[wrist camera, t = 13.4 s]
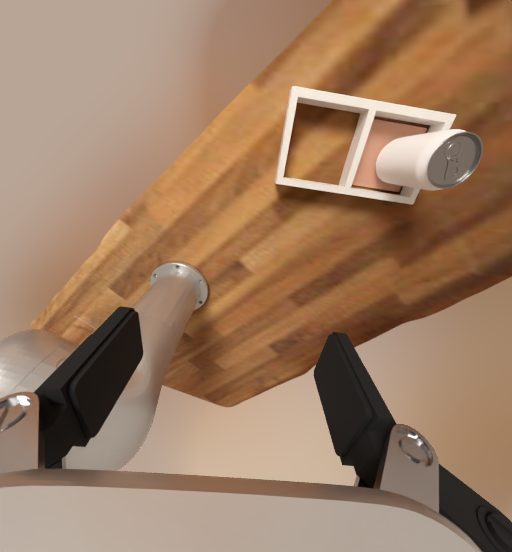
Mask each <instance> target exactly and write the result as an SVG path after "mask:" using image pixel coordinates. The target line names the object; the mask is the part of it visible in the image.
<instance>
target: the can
mask: <svg viewBox="0 0 512 552" xmlns="http://www.w3.org/2000/svg"><path fill="white" fill-rule="evenodd" d="M482 154H483V143H482V140H481V139H480V137H479V136H478V135H477V134H475V133H472V132H466V131H464V130H460V129H451V130H444V131H437V132H431V133H425V134H419V135H413V136H407V137H401V138H398V139H395V140H393V141H391V142H390V143H388V144H387V145H386V146H385V147H384V148H383V149H382V150H381V152H380V154H379V155H378V158H377V161H376V173H377V176H378V177H379V179H380V180H382V181H383V182H386V183H390V184H395V185H401V186H406V187H412V188H418V189H424V190H440V189H445V188H451V187H454V186H456V185H458V184H460V183H462V182H463V181H465V180H466V179H467V178H468V177H469V176H470V175H471V174H472V173H473V172H474V171H475V169H476V168H477V166H478V165H479V163H480V160H481V158H482Z"/></svg>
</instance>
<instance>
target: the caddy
mask: <svg viewBox="0 0 512 552" xmlns="http://www.w3.org/2000/svg"><path fill="white" fill-rule="evenodd" d="M297 103H302V104H308V105H314V106H320V107H325V108H331V109H337V110H343V111H349V112H354V113H360V116H359V120H358V123H357V126H356V130H355V133H354V136H353V139H352V143H351V146H350V149H349V153H348V156H347V159H346V162H345V166H344V169H343V172H342V176H341V179H340V182H339V185H333V184H326V183H320V182H314V181H307V180H301V179H294V178H288V177H283V176H284V171H285V165H286V160H287V154H288V149H289V143H290V138H291V132H292V127H293V121H294V116H295V110H296V105H297ZM375 116H377V117H383V118H389V119H395V120H401V121H406V122H412V123H418V124H424V125H430V127H429V129H428V132H427V133H431V132H437V131H444V130H449V129H450V127H451V125H452V123H453V121H454V119H455V117H456V115H455V114H449V113H444V112H438V111H432V110H427V109H421V108H415V107H410V106H404V105H398V104H393V103H387V102H381V101H376V100H370V99H364V98H359V97H353V96H347V95H342V94H336V93H330V92H325V91H319V90H313V89H308V88H302V87H296V86H292V88H291V90H290V93H289V99H288V105H287V111H286V117H285V123H284V129H283V135H282V141H281V147H280V153H279V159H278V165H277V171H276V177H275V183H276V184H281V185H288V186H294V187H301V188H307V189H314V190H320V191H327V192H333V193H340V194H346V195H353V196H360V197H366V198H373V199H379V200H386V201H392V202H399V203H405V204H412V205H413V204H414V201H415V199H416V197H417V195H418V193H419V191H420V189H418V188H412V187H406V186H403V188H402V190H401V192H400V195H398V194H391V193H385V192H378V191H372V190H365V189H359V188H352V187H351V186H352V185H356V186H362V187H369V188H375V189H382V190H388V191H395V192H399V191H400V189H401V185H395V184H390V183H386V182H383V181H382V180H380V179H379V177H378V176H377V173H376V161H377V158H378V155H379V154H380V152H381V150H382V149H383V148H384V147H385V146H386V145H387V144H388V143H390V142H391V141H393V140H395V139H398V138H401V137H407V136H413V135H419V134H425V132H426V130H427V128H423V127H417V126H412V125H406V124H400V123H394V122H388V121H383V120H377V119H374V117H375Z"/></svg>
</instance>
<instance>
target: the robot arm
mask: <svg viewBox="0 0 512 552" xmlns="http://www.w3.org/2000/svg"><path fill="white" fill-rule="evenodd" d="M207 296H208V284H207V282H206V279H205V278H204V276H203V275H202V274H201V273H200V272H199V271H198V270H197V269H196V268H194V267H192V266H191V265H188V264H186V263H182V262H167V263H164V264H162V265H160V266H159V267H157V268H156V269H155V270H154V272H153V273H152V275H151V278H150V288H149V289H148V290H147V291H146V293H145V294H144V295H143V296H142V297H141V298H140V300H139V301H138V302H137V303H136V304H135V305H134V306H133V308H128V307H119V308H117V310H116V311H115V312H114V313H113V314H112V315H111V316H110V317H109V318H108V319H107V320H106V321H105V322H104V323H103V324H102V325H101V326H100V327H99V328H98V329H97V330H96V331H95V332H94V333H93V334H91V335H90V336H89V337H88V338H87V339H86V340H85V341H84V342H83V343H82V344H81V345H80V346H79V345H77V344H75V343H73V342H71V341H68V340H66V339H64V338H62V337H60V336H58V335H56V334H54V333H51V332H48V331H44V330H38V329H30V330H25V331H20V332H17V333H15V334H12V335H10V336H8V337H6V338H4V339H3V340H1V341H0V552H512V522H511V521H510V520H509V519H508V518H507V517H506V516H505V515H503V514H502V513H501V512H500V511H499V510H498V509H496V508H495V507H494V506H493V505H491V504H490V503H489V502H487V501H486V500H485V499H483V498H482V497H481V496H480V495H478V494H477V493H476V492H475V491H473V490H472V489H471V488H469V487H468V486H467V485H466V484H464V483H463V482H462V481H460V480H459V479H458V478H457V477H455V476H454V475H453V474H451V473H450V472H449V471H448V470H446V469H445V468H443V467H442V466H441V465H440V464H439V462H438V457H437V455H436V453H435V451H434V449H433V447H432V446H431V445H430V443H429V442H428V441H427V440H426V439H425V438H424V436H423V435H421V434H420V433H419V432H418V431H416V430H415V429H413V428H411V427H410V426H407V425H404V424H396V423H395V421H394V419H393V417H392V415H391V413H390V411H389V410H388V408H387V406H386V404H385V402H384V401H383V399H382V397H381V395H380V393H379V391H378V390H377V388H376V386H375V384H374V383H373V381H372V379H371V377H370V375H369V373H368V372H367V370H366V368H365V366H364V365H363V363H362V361H361V359H360V358H359V356H358V354H357V352H356V350H355V348H354V347H353V345H352V343H351V341H350V339H349V338H348V336H347V334H345V333H337V332H333V333H332V335H329V336H328V339H327V341H326V343H325V346H324V348H323V350H322V353H321V355H320V358H319V360H318V362H317V365H316V367H315V370H314V378H315V381H316V385H317V389H318V392H319V396H320V400H321V403H322V406H323V410H324V414H325V417H326V421H327V424H328V428H329V431H330V435H331V439H332V442H333V446H334V449H335V452H336V454H337V455H338V456H340V459H341V462H342V465H349V466H354V468H355V471H356V474H357V477H356V480H355V484H354V486H343V485H332V484H319V483H305V482H290V481H276V480H260V479H245V478H229V477H212V476H197V475H180V474H163V473H145V472H128V471H117V470H118V469H120V468H122V467H123V466H124V465H126V464H127V463H128V462H129V461H130V460H131V459H132V458H133V457H134V455H135V454H136V453H137V452H138V450H139V449H140V447H141V446H142V444H143V442H144V441H145V439H146V437H147V434H148V432H149V430H150V427H151V424H152V422H153V418H154V415H155V411H156V407H157V403H158V399H159V394H160V390H161V387H162V384H163V380H164V377H165V375H166V372H167V369H168V367H169V364H170V362H171V360H172V357H173V355H174V353H175V351H176V348H177V346H178V344H179V342H180V339H181V337H182V335H183V333H184V330H185V328H186V326H187V324H188V322H189V319H190V317H191V315H192V313H193V310H196V309H198V308H200V307H201V306H202V305H203V304H204V302H205V301H206V299H207Z"/></svg>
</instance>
